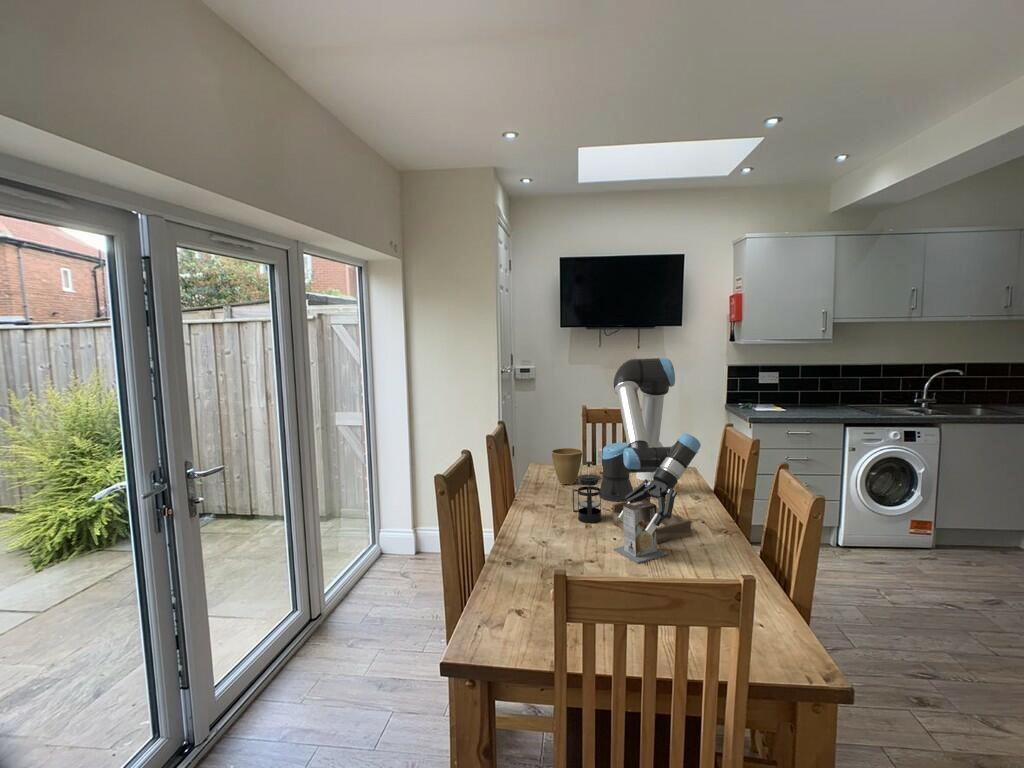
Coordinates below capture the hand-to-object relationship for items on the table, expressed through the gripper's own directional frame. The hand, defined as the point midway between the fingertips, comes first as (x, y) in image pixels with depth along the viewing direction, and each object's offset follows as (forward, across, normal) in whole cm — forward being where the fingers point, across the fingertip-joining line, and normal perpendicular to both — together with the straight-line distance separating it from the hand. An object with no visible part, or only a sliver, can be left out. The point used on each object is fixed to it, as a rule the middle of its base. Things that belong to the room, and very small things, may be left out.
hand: (634, 526), depth 174 cm
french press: (+3, +35, -11) cm, 37 cm away
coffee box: (+5, 0, -8) cm, 10 cm away
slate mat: (+5, 0, -8) cm, 10 cm away
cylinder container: (-38, +67, -52) cm, 93 cm away
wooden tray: (-7, +14, -20) cm, 26 cm away
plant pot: (-11, +81, -26) cm, 86 cm away
